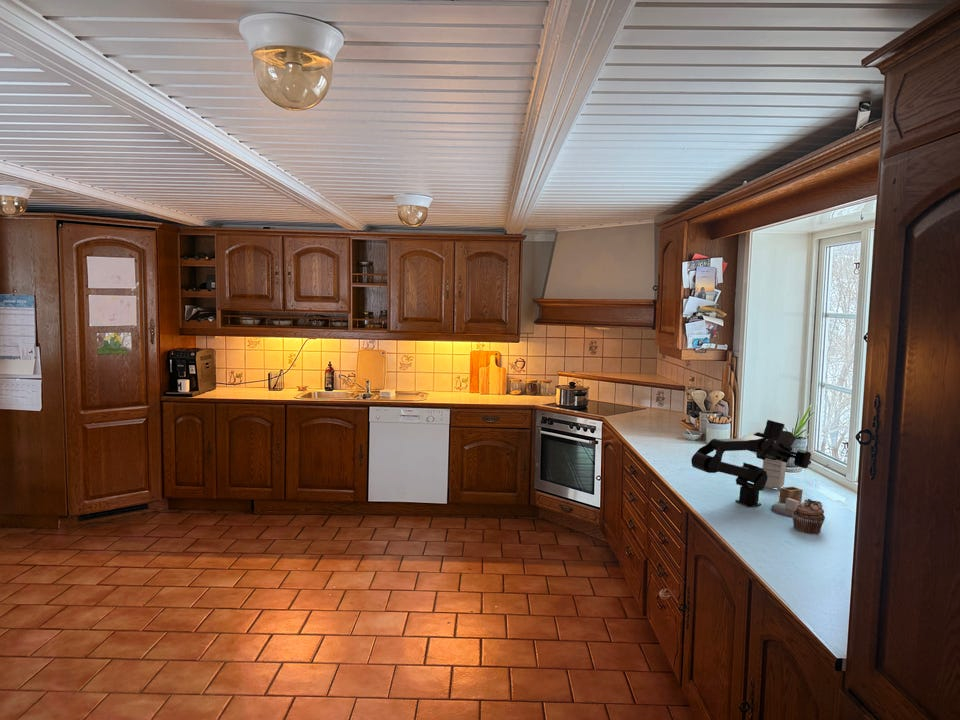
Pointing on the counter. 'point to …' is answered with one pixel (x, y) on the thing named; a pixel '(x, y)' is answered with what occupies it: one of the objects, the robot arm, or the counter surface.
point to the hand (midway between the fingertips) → (799, 460)
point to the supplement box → (774, 473)
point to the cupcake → (808, 517)
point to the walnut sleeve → (790, 493)
